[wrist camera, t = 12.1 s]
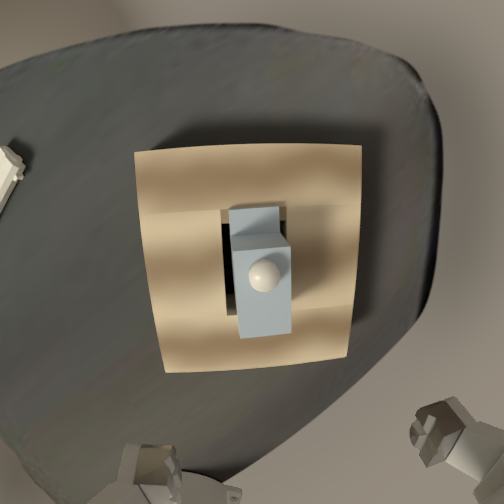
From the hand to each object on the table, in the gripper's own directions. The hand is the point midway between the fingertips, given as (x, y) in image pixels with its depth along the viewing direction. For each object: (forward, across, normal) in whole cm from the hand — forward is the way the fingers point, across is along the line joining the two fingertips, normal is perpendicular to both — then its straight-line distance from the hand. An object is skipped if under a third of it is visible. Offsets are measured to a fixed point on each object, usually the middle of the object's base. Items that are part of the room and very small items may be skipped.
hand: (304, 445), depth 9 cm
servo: (+20, 0, 0) cm, 20 cm away
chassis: (+20, 0, 0) cm, 20 cm away
